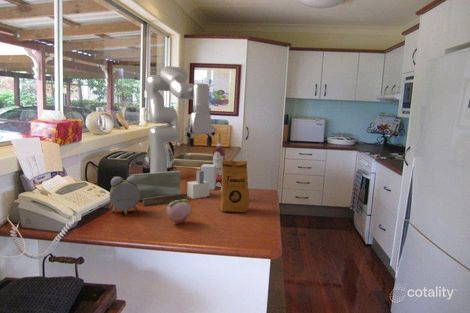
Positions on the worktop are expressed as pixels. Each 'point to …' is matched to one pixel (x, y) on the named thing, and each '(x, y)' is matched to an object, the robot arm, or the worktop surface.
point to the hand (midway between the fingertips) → (200, 146)
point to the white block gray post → (198, 186)
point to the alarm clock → (124, 193)
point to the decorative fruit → (179, 210)
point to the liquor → (218, 158)
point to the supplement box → (209, 175)
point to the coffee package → (234, 186)
